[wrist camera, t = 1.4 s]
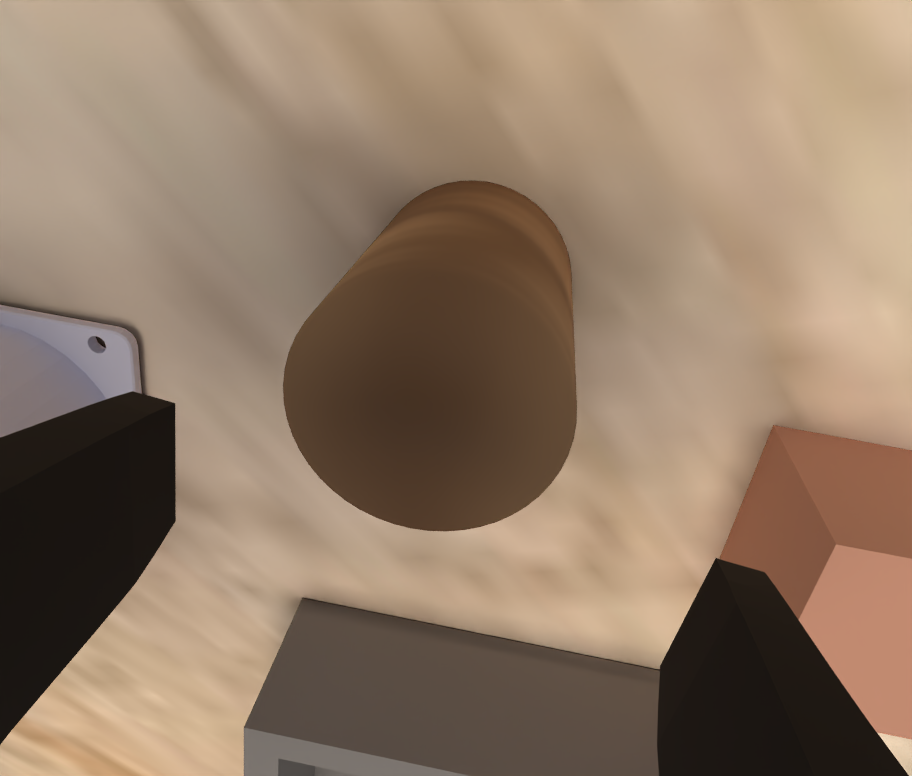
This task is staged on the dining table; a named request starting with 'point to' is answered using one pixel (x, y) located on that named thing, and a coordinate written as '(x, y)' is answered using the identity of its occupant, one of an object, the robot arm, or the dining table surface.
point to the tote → (443, 704)
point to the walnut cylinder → (442, 364)
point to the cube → (839, 558)
